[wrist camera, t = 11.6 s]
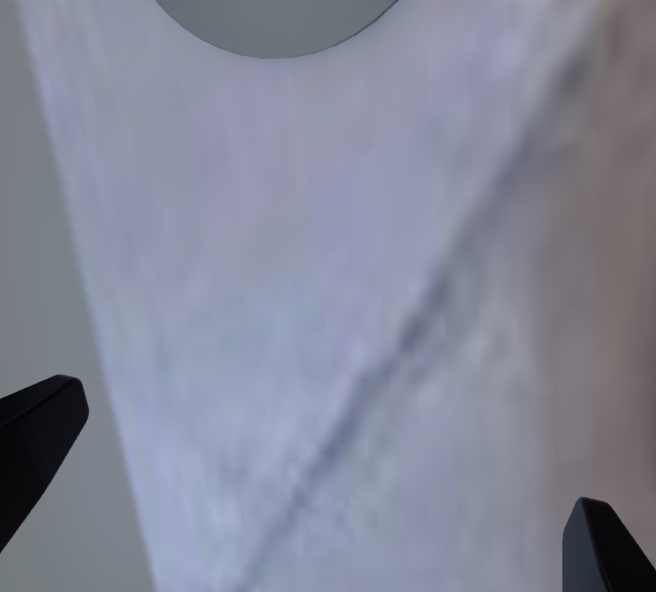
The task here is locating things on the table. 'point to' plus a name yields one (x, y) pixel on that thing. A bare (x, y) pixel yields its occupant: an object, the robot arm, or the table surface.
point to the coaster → (275, 23)
